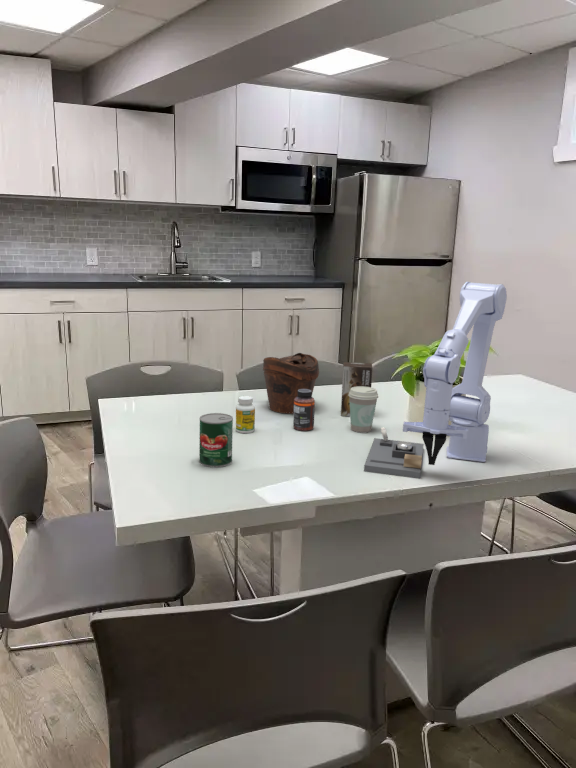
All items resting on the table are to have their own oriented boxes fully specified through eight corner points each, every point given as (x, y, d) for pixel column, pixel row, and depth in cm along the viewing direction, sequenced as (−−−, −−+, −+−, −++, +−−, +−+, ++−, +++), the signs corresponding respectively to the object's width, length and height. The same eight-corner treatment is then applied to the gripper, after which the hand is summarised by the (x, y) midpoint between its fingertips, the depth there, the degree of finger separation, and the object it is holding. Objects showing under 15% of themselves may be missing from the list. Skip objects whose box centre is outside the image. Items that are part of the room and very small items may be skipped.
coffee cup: (352, 434, 166) (355, 393, 164) (342, 425, 174) (344, 386, 172) (380, 433, 169) (383, 392, 166) (368, 424, 177) (371, 385, 174)
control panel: (423, 449, 157) (424, 437, 156) (419, 478, 137) (421, 465, 136) (374, 443, 160) (374, 432, 159) (363, 471, 140) (364, 458, 139)
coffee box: (369, 412, 189) (372, 363, 186) (369, 418, 183) (373, 367, 179) (340, 410, 190) (343, 361, 186) (340, 416, 184) (343, 365, 180)
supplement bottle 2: (309, 424, 174) (311, 387, 172) (316, 430, 169) (318, 392, 166) (290, 425, 172) (291, 388, 170) (297, 432, 167) (298, 393, 164)
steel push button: (411, 448, 149) (412, 442, 148) (411, 453, 145) (411, 447, 145) (397, 446, 150) (397, 440, 149) (396, 451, 146) (396, 445, 146)
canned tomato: (201, 468, 138) (201, 423, 135) (197, 456, 145) (197, 413, 143) (235, 466, 140) (236, 421, 138) (228, 454, 148) (229, 412, 145)
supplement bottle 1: (248, 426, 170) (249, 394, 168) (258, 431, 166) (259, 398, 164) (232, 429, 167) (232, 396, 165) (241, 434, 163) (241, 401, 161)
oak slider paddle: (421, 463, 141) (422, 455, 141) (420, 468, 138) (421, 460, 138) (404, 461, 142) (405, 453, 142) (403, 466, 139) (404, 458, 139)
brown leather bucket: (317, 400, 200) (318, 348, 196) (318, 418, 181) (320, 360, 177) (264, 399, 201) (264, 347, 196) (260, 416, 181) (260, 359, 177)
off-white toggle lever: (388, 439, 155) (385, 426, 155) (388, 440, 154) (384, 427, 154) (384, 440, 155) (380, 427, 155) (383, 441, 154) (380, 428, 154)
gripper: (404, 408, 134) (399, 465, 137) (470, 415, 131) (464, 473, 134) (405, 401, 141) (401, 455, 144) (469, 407, 137) (463, 462, 140)
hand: (431, 463), depth 139 cm, fingers closed
